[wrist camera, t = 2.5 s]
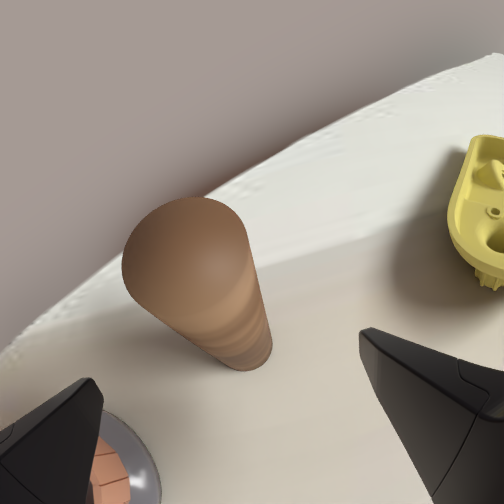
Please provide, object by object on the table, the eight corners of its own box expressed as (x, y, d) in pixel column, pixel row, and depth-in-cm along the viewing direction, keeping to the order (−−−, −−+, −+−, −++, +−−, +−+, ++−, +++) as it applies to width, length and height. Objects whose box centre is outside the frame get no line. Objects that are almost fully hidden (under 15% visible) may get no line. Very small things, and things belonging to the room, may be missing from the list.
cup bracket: (165, 549, 11) (138, 573, 7) (50, 504, 12) (15, 511, 8) (161, 420, 16) (128, 421, 13) (46, 393, 18) (8, 384, 14)
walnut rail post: (272, 370, 18) (247, 316, 7) (216, 370, 18) (111, 314, 7) (272, 317, 19) (249, 192, 8) (218, 318, 20) (135, 203, 9)
